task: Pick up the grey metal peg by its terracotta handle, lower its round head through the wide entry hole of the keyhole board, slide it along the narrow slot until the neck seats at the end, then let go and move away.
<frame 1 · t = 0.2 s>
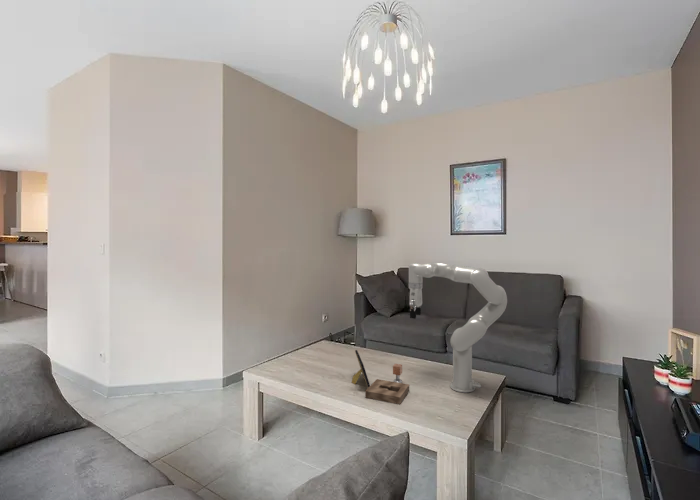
hand: (415, 316, 194), 36 cm above the table, tool pointing down, fingers open, 9 cm apart
peg: (397, 383, 192), on the table
picture frame: (359, 383, 194), on the table
keyhole board: (387, 394, 179), on the table
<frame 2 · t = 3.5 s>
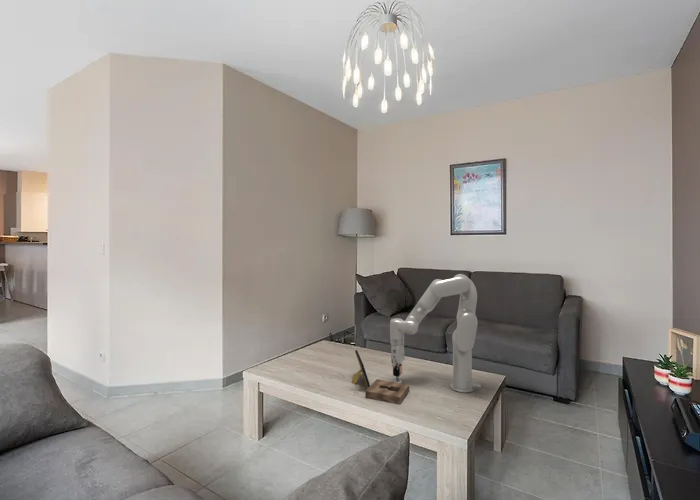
hand: (397, 374, 192), 5 cm above the table, tool pointing down, fingers closed on peg, 4 cm apart
peg: (397, 383, 192), on the table, touching gripper
everything else where it was.
when the fingers open (5 cm above the table, at t = 11.2 s): peg stays where it is, resting in keyhole board.
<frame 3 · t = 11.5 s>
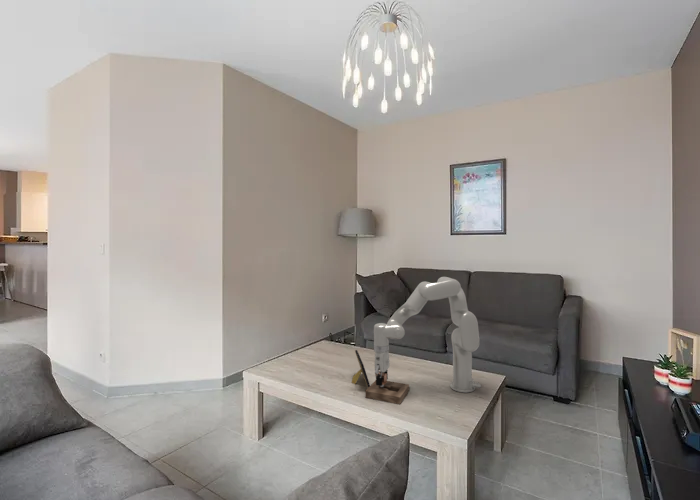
hand: (381, 382, 180), 6 cm above the table, tool pointing down, fingers open, 7 cm apart
peg: (382, 393, 180), resting in keyhole board
everything else where it was.
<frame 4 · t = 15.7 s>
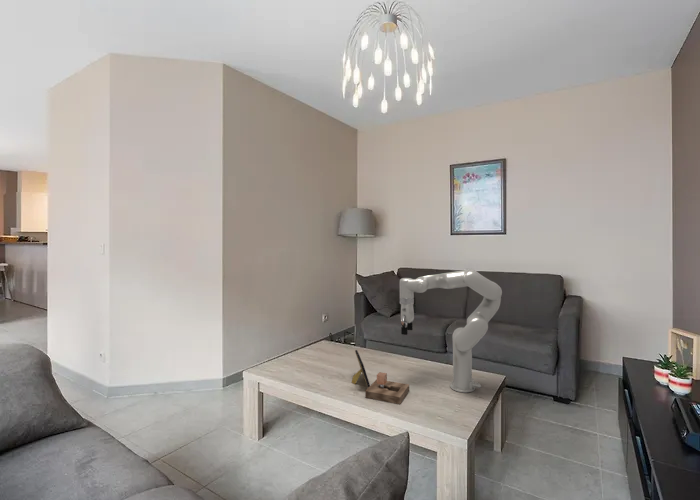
hand: (407, 332, 191), 28 cm above the table, tool pointing down, fingers open, 9 cm apart
nothing on the table moved.
at the end: peg 0.1 cm from the target spot on the keyhole board, point 0.0 cm above the keyhole board's base; peg tilted 0°; the gripper is holding nothing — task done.
